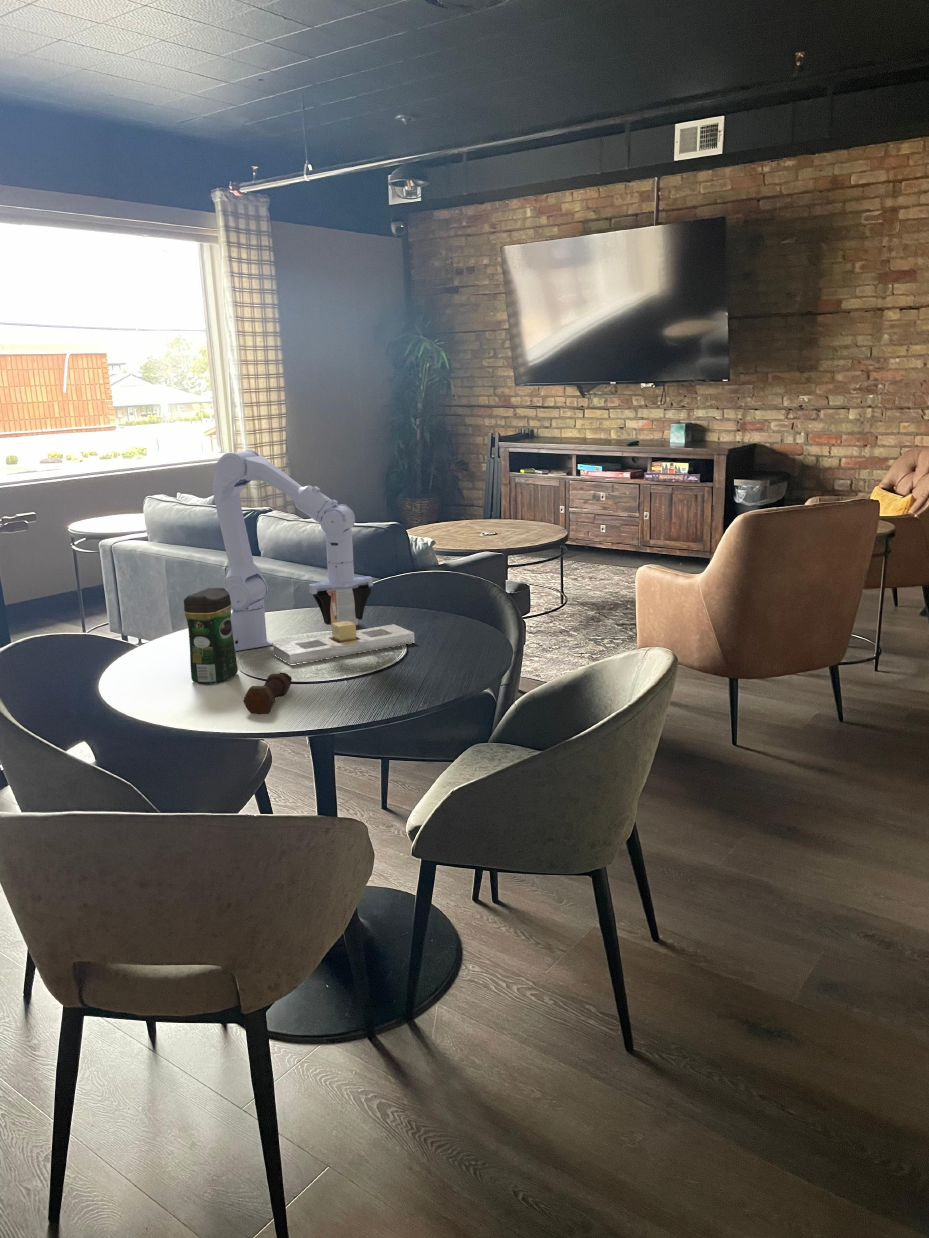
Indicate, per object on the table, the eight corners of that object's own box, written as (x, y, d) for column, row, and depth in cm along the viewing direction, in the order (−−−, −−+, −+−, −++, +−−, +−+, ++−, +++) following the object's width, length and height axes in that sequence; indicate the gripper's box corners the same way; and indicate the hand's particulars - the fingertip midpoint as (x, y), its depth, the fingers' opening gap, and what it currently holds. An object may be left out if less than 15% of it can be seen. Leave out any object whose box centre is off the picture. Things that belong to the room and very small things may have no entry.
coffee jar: (209, 670, 192) (201, 584, 188) (243, 672, 190) (236, 585, 186) (184, 684, 183) (175, 594, 179) (220, 687, 181) (211, 595, 177)
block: (340, 652, 203) (339, 626, 202) (333, 649, 207) (331, 623, 205) (357, 649, 205) (355, 624, 204) (349, 646, 209) (347, 620, 207)
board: (290, 666, 194) (289, 654, 193) (273, 655, 202) (273, 644, 202) (414, 643, 209) (414, 632, 209) (394, 634, 217) (393, 624, 217)
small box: (327, 621, 232) (325, 580, 230) (349, 618, 235) (346, 578, 232) (337, 627, 225) (334, 586, 223) (359, 625, 227) (356, 583, 225)
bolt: (289, 697, 180) (263, 721, 165) (267, 685, 180) (238, 708, 165) (302, 673, 178) (276, 695, 164) (279, 660, 178) (252, 681, 164)
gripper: (316, 567, 194) (320, 629, 197) (378, 560, 201) (380, 620, 205) (303, 563, 200) (307, 623, 203) (364, 555, 207) (366, 614, 210)
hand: (343, 621), depth 204 cm, fingers open, 7 cm apart
